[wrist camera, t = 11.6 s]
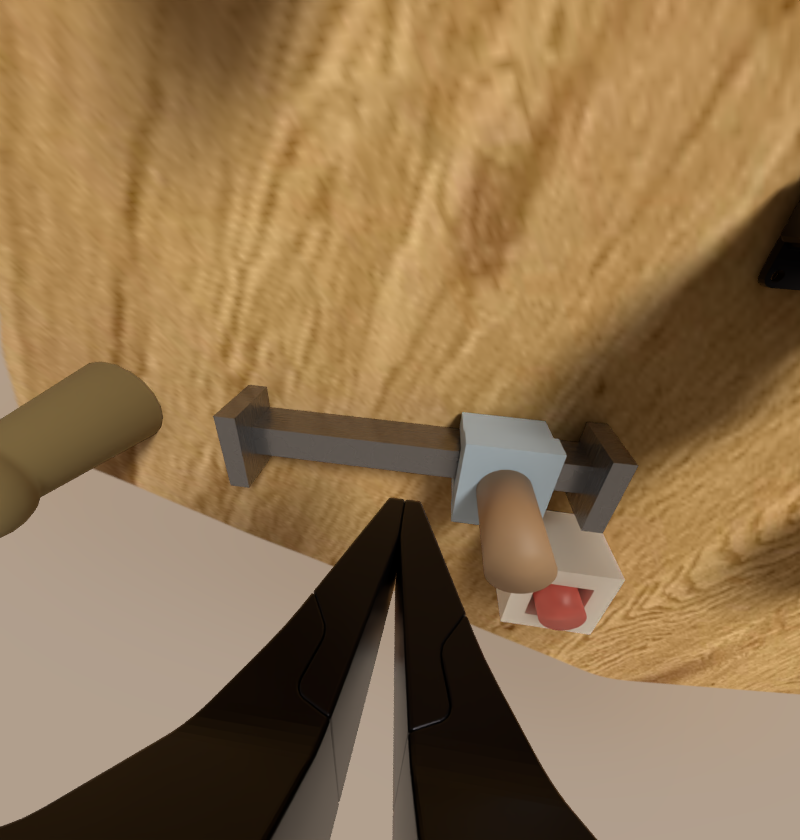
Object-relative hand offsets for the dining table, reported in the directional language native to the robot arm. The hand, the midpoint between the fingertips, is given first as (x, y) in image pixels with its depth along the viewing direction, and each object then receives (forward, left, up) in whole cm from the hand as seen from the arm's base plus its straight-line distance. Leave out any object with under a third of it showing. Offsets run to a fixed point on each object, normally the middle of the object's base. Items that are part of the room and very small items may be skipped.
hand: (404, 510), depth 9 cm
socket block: (-10, +14, -12) cm, 21 cm away
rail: (0, +6, -12) cm, 14 cm away
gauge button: (-10, +14, -10) cm, 20 cm away
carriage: (-5, +6, -12) cm, 15 cm away
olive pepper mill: (+21, +6, -13) cm, 25 cm away
